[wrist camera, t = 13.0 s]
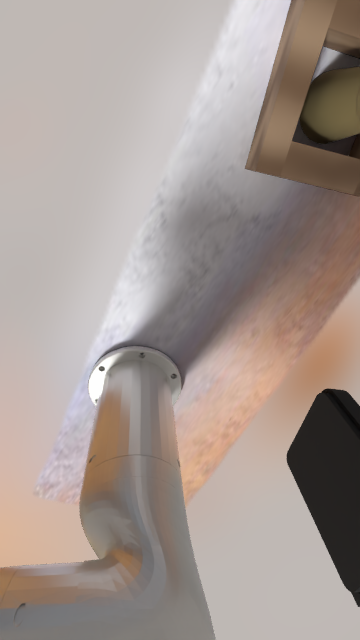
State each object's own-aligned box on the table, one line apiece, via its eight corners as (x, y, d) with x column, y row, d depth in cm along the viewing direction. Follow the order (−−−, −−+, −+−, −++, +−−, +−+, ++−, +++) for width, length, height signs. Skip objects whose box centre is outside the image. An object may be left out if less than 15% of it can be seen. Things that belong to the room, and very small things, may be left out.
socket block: (354, 195, 35) (375, 199, 32) (245, 168, 32) (255, 170, 29) (424, 34, 29) (457, 20, 26) (295, -14, 26) (315, -36, 23)
